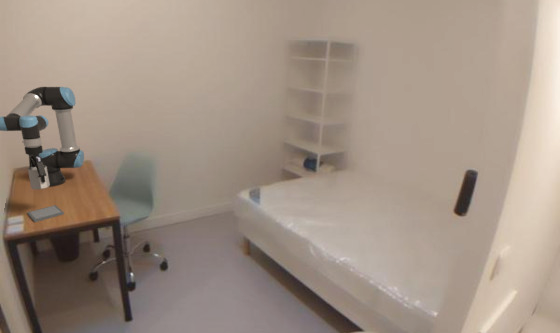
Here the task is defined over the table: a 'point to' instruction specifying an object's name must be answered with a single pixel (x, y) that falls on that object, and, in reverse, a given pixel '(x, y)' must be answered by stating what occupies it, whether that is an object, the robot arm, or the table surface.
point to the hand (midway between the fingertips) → (40, 184)
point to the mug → (36, 178)
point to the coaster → (45, 213)
